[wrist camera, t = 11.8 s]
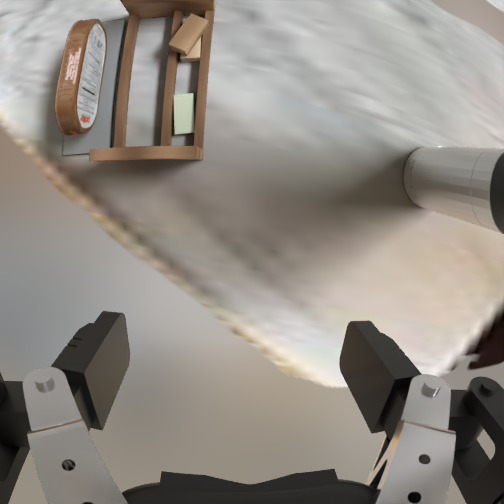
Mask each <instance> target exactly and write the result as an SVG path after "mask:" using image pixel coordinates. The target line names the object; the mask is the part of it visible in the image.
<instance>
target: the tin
mask: <svg viewBox="0 0 504 504" xmlns="http://www.w3.org/2000/svg"><path fill="white" fill-rule="evenodd" d="M106 54H107V35H106V30H105V28H104V26H103V24H102V23H101V21H100V20H99V19H90V20H84V21H83V20H80V21H77V22H76V23H75V24H74V25H73V26H72V28H71V30H70V32H69V34H68V37H67V41H66V45H65V49H64V54H63V58H62V63H61V68H60V73H59V79H58V85H57V91H56V98H55V114H56V120H57V124H58V126H59V129H60V130H61V132H62V133H63V134H64V135H66V136H71V135H74V134H84V133H87V132H88V131H90V130H91V128H92V127H93V125H94V123H95V120H96V117H97V112H98V106H99V99H100V92H101V85H102V78H103V72H104V66H105V60H106Z"/></svg>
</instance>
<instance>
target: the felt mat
mask: <svg viewBox="0 0 504 504" xmlns="http://www.w3.org/2000/svg"><path fill="white" fill-rule="evenodd" d="M101 23H102V24H103V26H104V28H105V30H106V35H107V54H106V60H105V66H104V72H103V78H102V85H101V92H100V99H99V106H98V112H97V117H96V120H95V123H94V125H93V127H92V128H91V130H90V131H88V132H87V133H84V134H74V135H71V136H66V135H64V146H63V155H73V154H85V153H89V150H90V149H100V148H111V135H112V120H113V107H114V97H115V87H116V79H117V71H118V64H119V57H120V51H121V45H122V39H123V33H124V28H125V23H126V20H125V19H120V20H113V21H107V22H101Z"/></svg>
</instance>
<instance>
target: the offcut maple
mask: <svg viewBox="0 0 504 504" xmlns="http://www.w3.org/2000/svg"><path fill="white" fill-rule="evenodd" d="M186 20H187V18H186V19H183V23H184V22H185V21H186ZM201 48H202V36H201V37H200V39H199V40H198V41H197V43H196V44H195V46H194V47H193V48H192V50H191V51H190V53H189V54H188V56H185V55H183V54H181V57H180V59H181V61H182V62H198V61H200V57H201Z"/></svg>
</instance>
